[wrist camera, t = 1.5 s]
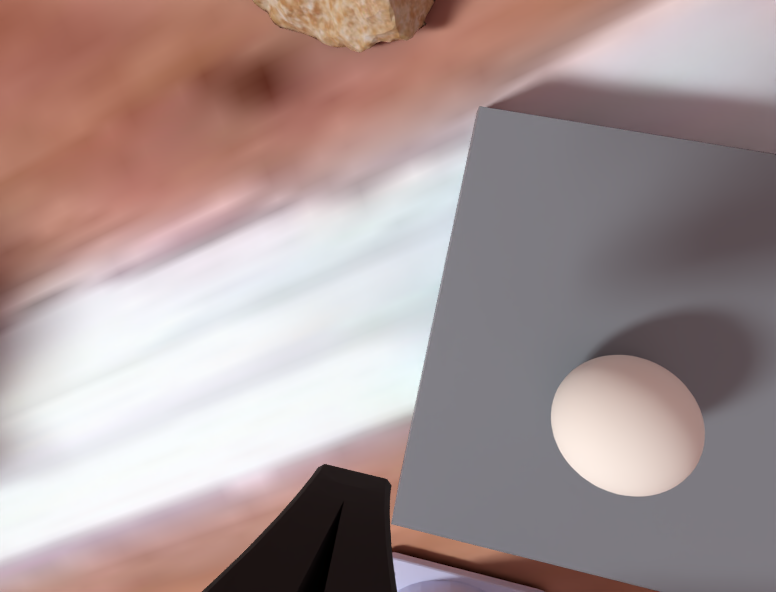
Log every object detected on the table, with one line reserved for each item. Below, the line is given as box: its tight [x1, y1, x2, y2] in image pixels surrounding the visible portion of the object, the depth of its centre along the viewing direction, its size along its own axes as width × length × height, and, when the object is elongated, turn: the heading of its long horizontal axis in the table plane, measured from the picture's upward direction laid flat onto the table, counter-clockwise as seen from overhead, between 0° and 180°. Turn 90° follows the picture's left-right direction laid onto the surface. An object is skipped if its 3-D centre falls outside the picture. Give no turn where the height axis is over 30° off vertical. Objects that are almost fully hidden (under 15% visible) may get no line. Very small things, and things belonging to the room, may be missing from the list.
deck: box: [391, 106, 776, 592], centre depth 16 cm, size 16×24×2 cm, turn 81°
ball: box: [551, 355, 705, 496], centre depth 13 cm, size 4×4×4 cm
